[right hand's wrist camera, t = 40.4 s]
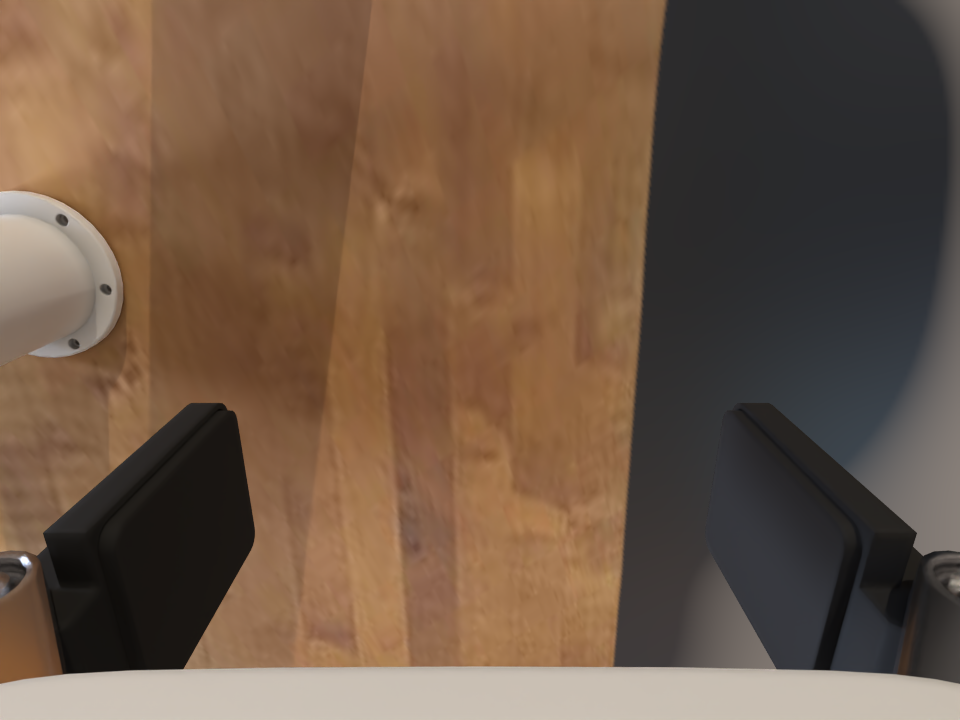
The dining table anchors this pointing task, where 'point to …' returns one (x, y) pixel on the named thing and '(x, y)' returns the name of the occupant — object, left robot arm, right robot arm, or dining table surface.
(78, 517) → the right robot arm
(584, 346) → the dining table surface
